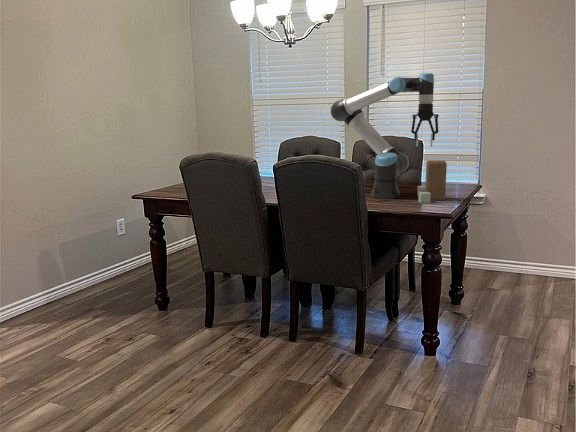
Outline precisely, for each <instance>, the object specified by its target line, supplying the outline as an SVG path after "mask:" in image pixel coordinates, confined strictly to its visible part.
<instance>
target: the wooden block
mask: <svg viewBox="0 0 576 432" xmlns="http://www.w3.org/2000/svg"><path fill="white" fill-rule="evenodd" d="M425 164H426V165H425V185H424V186H425V192H429V193H431V199H430V201H445V200H446V186H447V165H448V164H447V162H446V161H445V160H426V163H425Z"/></svg>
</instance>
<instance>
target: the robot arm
mask: <svg viewBox="0 0 576 432" xmlns="http://www.w3.org/2000/svg"><path fill="white" fill-rule="evenodd" d="M434 86H435V75H434V74H433V72H432V73H431V72H430V73H427V72H426V73H420V74H419V76H418V77H403V76H402V77H401V76H396V77H392V78H391V80H389V81H387V82H385V83H382V84H380V85H378V86H377V85H376V86H375V87H372V88H371V89H368V90H366V91H364V92H361V93H359V94H356V95H355V96H351V97H349V98H348V97H345V98H342V99H339V100H337V101H335V102H334V103H333V104H332V105H331V106H330V114H331V115H330V116H331V117H332V118H333V119H334V120H335V121H337V122H344V123H345V124H346V125H347V126H348V128H353V130H354V131H355V132H356V133H358V134H359V136H360V137H361V138H362V139H363V140H364V141H365V143H366V144H367V145H368V146H369V147H370V148H371V150H372V151H373V152H374V153H375V154H376V156H375V160H374V165H375V166H374V167H375V168H374V171H375V172H374V173H375V174H374V178H375V179H374V184H373V188H372V190H371V197H372V198H375V199H382V200H385V199H387V200H390V199H398V198H400V197H401V196H400V193H401V192H400V189H399V187H398V183H397V182H398V181H397V179H398V175H401V174H403V173H405V172H406V171H407V169H408V168H409V166H410V165H409V164H410V160H409V158H408V156H407V155H406V154H405V153H403V152H400V151H399V150H398V149H397V148H396V147H395V146H391V145H390V144H389V143H388V142H387V140H385V139H384V137H383V136H382V135H381V134H380V133H379V132H378V131H377V129H376V128H374V126H373V125H372V124H371V123H370V122H369V121H368V120H367V118H365V113H364V111H363V110H362V109H363V108H366V107H369V106H370V105H373V104H375V103H378V102H380V101H383V100H385V99H387V98H389V97H391V96H394V95H397V94H400V93H418V110H417V111H418V112H417V113H414V114H412V123H411V124H412V125H411V131H410V132H411V134H414V136H413V137H414V141H416V142H415V143H416V144H415V145H416V147H419V133H418V132H419V129H420V127H421V125H422V122H424V121H426V122H428V125H429V127H430V131H431V134H430V147H431V148H432V147H433V141H435V136H436V135H437V134H438V133H439V120H438V119H439V114H436V113H434V104H433V103H434V90H435V89H434ZM417 118H418V119H419V121H418V124H417V126H416V128H415V125H416V119H417ZM432 118H434V122H435V123H434V124H435V125H434V126H435V129H434V126H433V123H432V120H431V119H432Z"/></svg>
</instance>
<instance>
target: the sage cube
mask: <svg viewBox="0 0 576 432" xmlns="http://www.w3.org/2000/svg"><path fill="white" fill-rule="evenodd" d="M430 199H431V193H429V192H419V196H418V202H419V203H420V204H431V200H430Z"/></svg>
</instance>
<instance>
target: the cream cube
mask: <svg viewBox="0 0 576 432" xmlns="http://www.w3.org/2000/svg"><path fill="white" fill-rule="evenodd" d="M416 191H417V193H416V194H417V195H416V196H417V197H419V192H425V185H417V190H416Z"/></svg>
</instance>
